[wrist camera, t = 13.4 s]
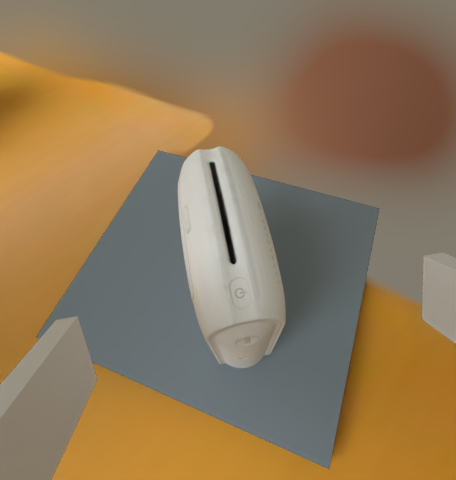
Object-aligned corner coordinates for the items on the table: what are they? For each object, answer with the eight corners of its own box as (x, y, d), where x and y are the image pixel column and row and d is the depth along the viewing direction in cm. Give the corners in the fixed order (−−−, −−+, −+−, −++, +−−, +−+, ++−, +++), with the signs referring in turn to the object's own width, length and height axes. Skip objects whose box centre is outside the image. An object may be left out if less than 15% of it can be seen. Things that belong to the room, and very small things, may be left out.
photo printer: (277, 363, 22) (309, 316, 11) (216, 376, 21) (186, 340, 11) (246, 237, 27) (246, 118, 16) (196, 246, 26) (162, 132, 16)
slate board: (47, 340, 25) (36, 336, 23) (161, 160, 33) (158, 150, 32) (323, 465, 20) (329, 469, 19) (373, 217, 29) (379, 208, 27)
